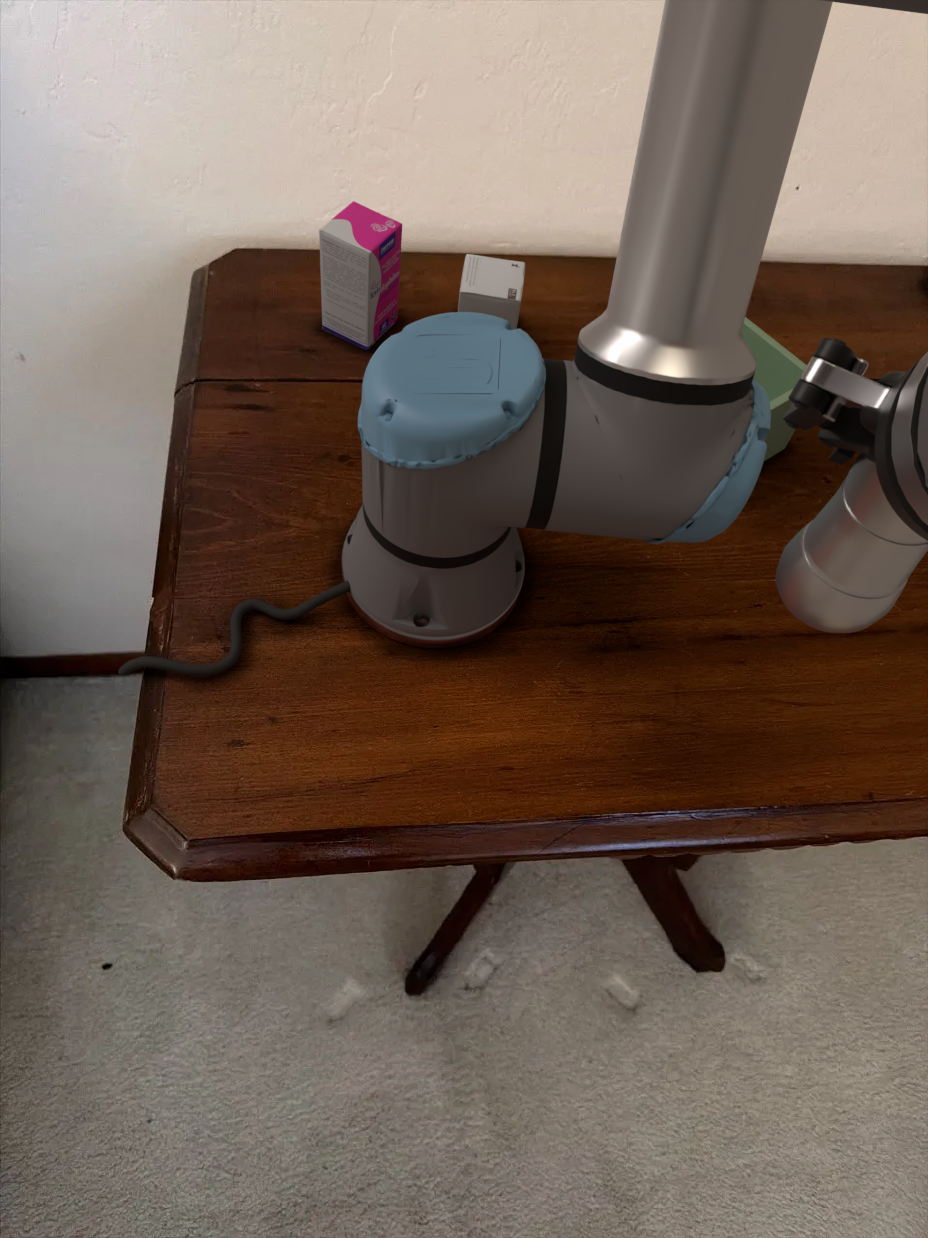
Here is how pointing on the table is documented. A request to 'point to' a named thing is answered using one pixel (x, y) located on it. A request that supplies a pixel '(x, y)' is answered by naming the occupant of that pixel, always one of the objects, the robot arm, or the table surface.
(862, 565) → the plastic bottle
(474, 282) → the white cardboard box
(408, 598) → the robot arm
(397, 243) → the supplement box
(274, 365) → the table surface
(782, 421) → the green open box
